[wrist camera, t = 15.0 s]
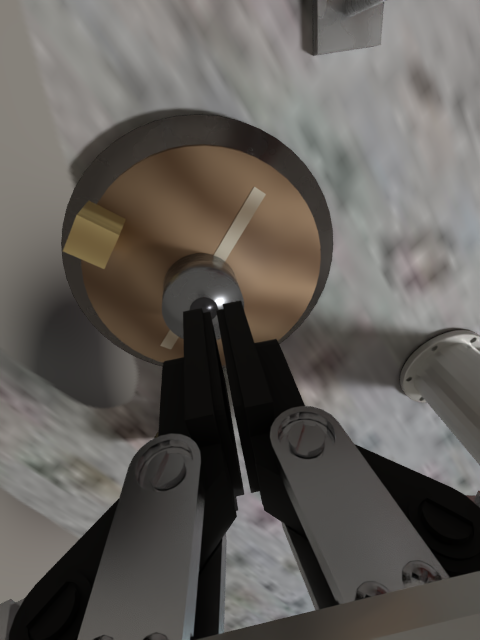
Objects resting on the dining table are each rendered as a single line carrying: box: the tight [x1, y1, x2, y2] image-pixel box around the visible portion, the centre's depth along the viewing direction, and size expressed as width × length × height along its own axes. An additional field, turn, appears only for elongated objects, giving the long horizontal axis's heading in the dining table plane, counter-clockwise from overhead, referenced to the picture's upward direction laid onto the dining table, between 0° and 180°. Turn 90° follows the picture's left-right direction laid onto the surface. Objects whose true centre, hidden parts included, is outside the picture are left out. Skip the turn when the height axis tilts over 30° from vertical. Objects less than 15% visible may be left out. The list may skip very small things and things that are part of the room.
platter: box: [63, 144, 321, 366], centre depth 31 cm, size 22×22×6 cm
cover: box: [162, 253, 244, 340], centre depth 31 cm, size 7×7×4 cm
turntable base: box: [61, 114, 333, 368], centre depth 34 cm, size 26×26×1 cm
